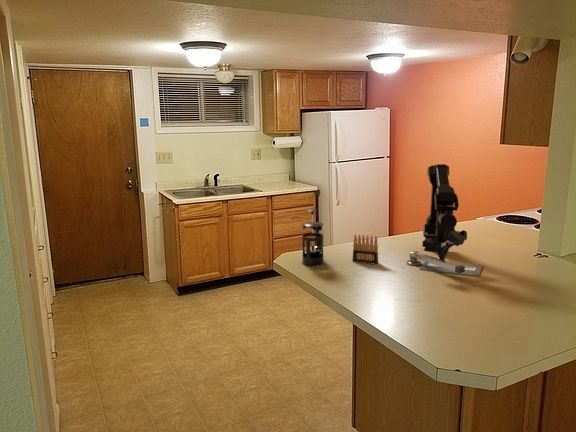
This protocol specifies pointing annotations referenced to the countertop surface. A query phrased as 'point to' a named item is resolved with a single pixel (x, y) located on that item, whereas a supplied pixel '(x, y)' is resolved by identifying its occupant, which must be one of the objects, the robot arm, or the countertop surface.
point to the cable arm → (437, 261)
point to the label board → (469, 271)
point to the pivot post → (413, 262)
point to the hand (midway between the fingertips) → (442, 261)
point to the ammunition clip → (365, 250)
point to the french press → (316, 252)
